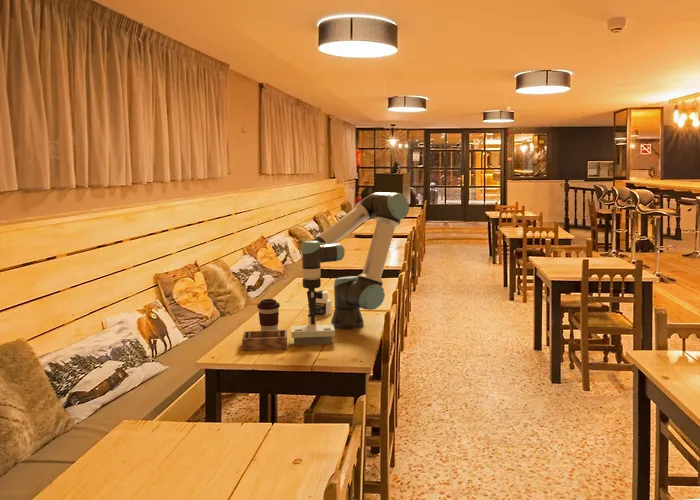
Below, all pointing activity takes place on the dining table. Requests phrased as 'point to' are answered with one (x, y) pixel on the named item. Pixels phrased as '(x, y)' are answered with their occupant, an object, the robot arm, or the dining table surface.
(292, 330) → the door
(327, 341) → the block
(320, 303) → the medicine bottle
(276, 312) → the coffee cup
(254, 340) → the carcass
